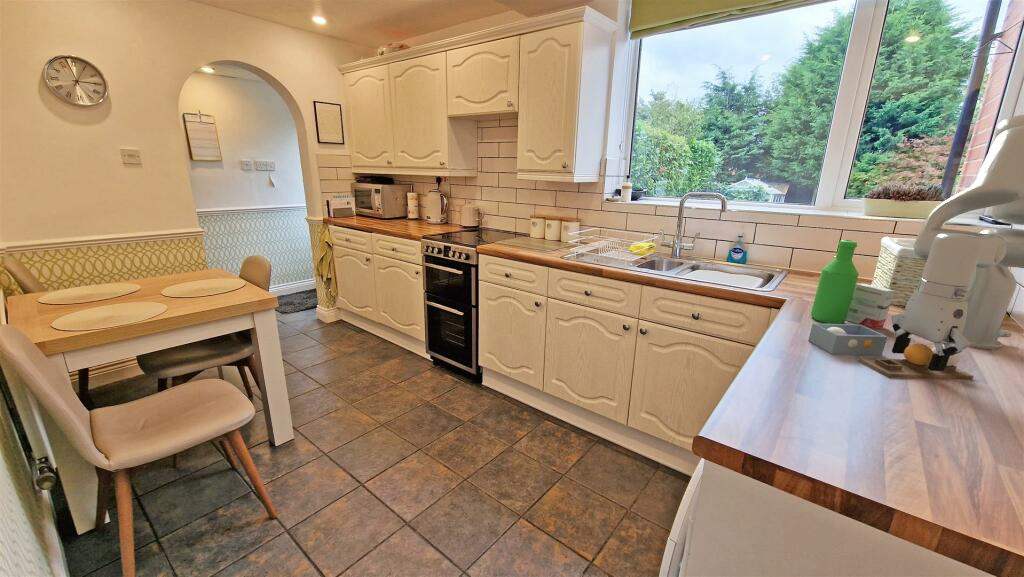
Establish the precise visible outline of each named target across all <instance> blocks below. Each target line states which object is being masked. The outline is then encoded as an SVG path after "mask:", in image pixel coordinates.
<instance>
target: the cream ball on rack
mask: <svg viewBox="0 0 1024 577" xmlns="http://www.w3.org/2000/svg"><path fill="white" fill-rule="evenodd" d="M943 348H944V349H945V347H944V344H943ZM931 349H932V351H933V353H935V354H937V351H936V348H935V346H934V347H933V348H931ZM961 360H962V352H960V353H957V354H955V355H954V356H950V357H949V360H948V362H947V365H946V366H952V365H954V366H956V365H957V364H958V363H960V361H961Z"/></svg>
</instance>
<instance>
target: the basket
mask: <svg viewBox="0 0 1024 577" xmlns="http://www.w3.org/2000/svg"><path fill="white" fill-rule="evenodd" d="M915 241H916V238H907V237H906V238H904V237H903V238H902V237H901V238H900V237H890V236H885V237H883V238H881V241H880V245H881V247H880V250H879V254H878V258H877V263H876V265H875V271H874V276H873V277H872V281H871V284H870V285H872V286H876V287H881V288H885V289H890V290H894V295H893V298H892V301H891V304H890V305H891V306H892V305H893V306H902V307H906V305H907V303H908V301H909V299H910V297H911V296H912V294H913V293H914V291H915V290H917V288H918V285H919V282H920V279H921V277H922V274H923V271H924V268H925V265H926V262H927V259H923V258H920V257H918V256H917V255H916V254H915V252H914V244H915Z"/></svg>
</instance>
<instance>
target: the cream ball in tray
mask: <svg viewBox="0 0 1024 577" xmlns="http://www.w3.org/2000/svg"><path fill="white" fill-rule="evenodd" d="M827 330H829V331H831V332H833V333H835V334H837V335H847V334H846V332H845V331H844V330H843V329H841V328H838V327H830V328H828V329H827Z"/></svg>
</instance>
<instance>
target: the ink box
mask: <svg viewBox="0 0 1024 577" xmlns="http://www.w3.org/2000/svg"><path fill="white" fill-rule="evenodd" d="M893 295H894V290H890V289H885V288H881V287H876V286H872V285H871V284H867V283H856V286H855V289H854V293H853V297H852V300H851V304H850V307H849V311H848V314H847V317H846V321H847V322H851V323H854V324H856V325H862V326H864V327H867V328H869V329H875V330H876V329H880V328H883V327H884V325H885V322H886V318H887V317H888V313H889V310H890V308H891V307H890V306H891V305H892V304H891V301H892V298H893Z"/></svg>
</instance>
